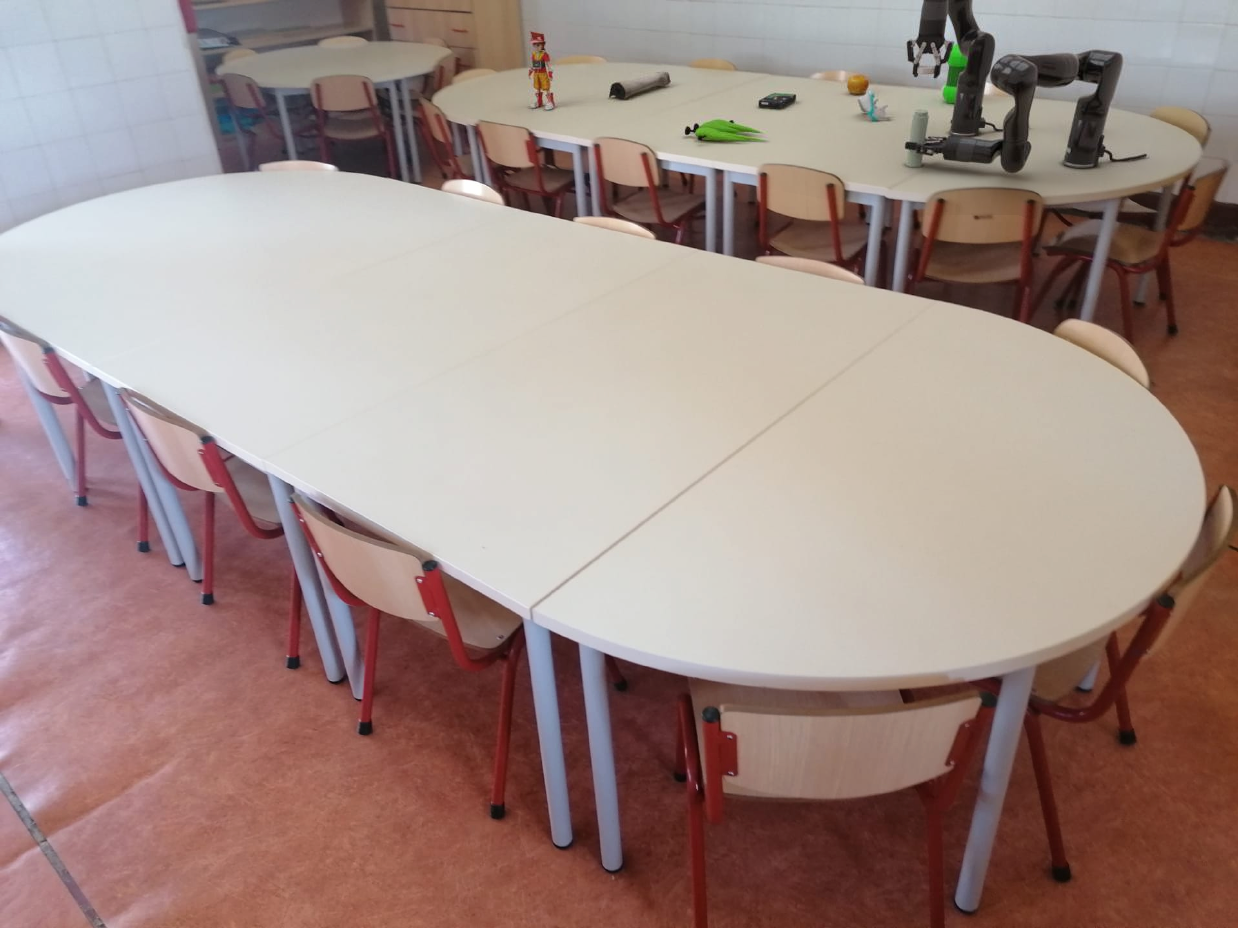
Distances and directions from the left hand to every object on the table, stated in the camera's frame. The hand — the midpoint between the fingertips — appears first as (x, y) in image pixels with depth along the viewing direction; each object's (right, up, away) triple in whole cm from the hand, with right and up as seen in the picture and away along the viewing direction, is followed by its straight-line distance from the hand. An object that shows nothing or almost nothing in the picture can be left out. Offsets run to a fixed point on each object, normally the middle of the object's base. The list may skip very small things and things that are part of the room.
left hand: (925, 77), depth 277 cm
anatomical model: (+2, +13, +66) cm, 68 cm away
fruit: (+5, +35, +98) cm, 104 cm away
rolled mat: (-85, +45, +120) cm, 154 cm away
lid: (0, +2, -1) cm, 2 cm away
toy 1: (-128, +33, +106) cm, 169 cm away
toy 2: (-55, +1, +53) cm, 76 cm away
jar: (+1, -22, +15) cm, 27 cm away
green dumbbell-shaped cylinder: (+38, +24, +78) cm, 90 cm away
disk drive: (-30, +27, +90) cm, 98 cm away
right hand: (-1, -16, +13) cm, 20 cm away
